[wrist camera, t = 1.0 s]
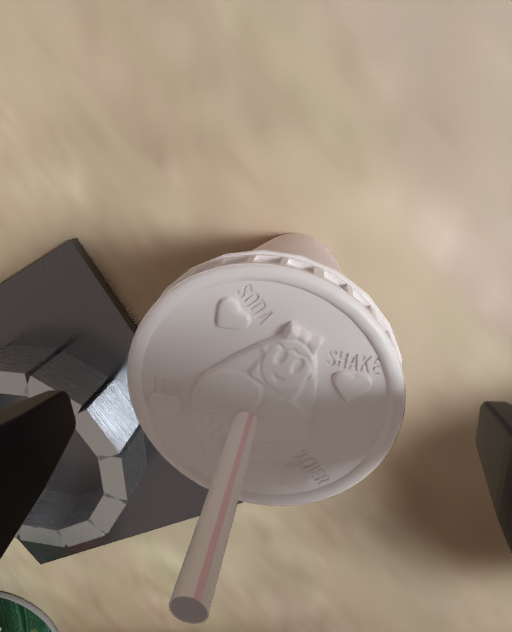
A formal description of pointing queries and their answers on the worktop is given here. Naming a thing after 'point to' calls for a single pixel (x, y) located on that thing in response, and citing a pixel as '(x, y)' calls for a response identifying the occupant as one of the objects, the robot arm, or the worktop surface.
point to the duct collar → (85, 409)
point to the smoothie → (263, 389)
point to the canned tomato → (22, 616)
